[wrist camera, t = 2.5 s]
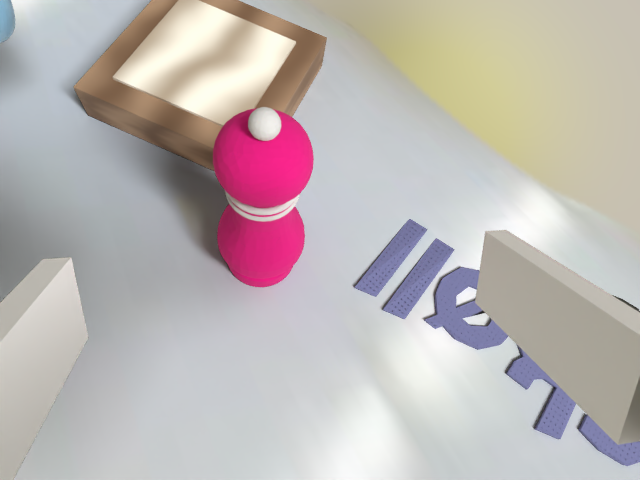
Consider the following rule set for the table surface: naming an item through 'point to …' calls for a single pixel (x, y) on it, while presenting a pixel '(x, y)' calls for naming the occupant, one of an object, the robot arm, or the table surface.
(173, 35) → the walnut stand
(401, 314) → the signage
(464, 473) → the table surface
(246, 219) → the pepper mill
